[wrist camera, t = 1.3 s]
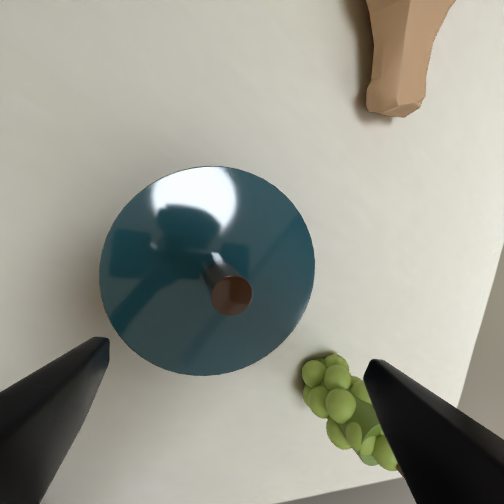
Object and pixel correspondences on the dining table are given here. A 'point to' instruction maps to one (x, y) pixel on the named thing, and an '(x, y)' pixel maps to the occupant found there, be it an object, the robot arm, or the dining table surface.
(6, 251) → the dining table surface
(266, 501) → the dining table surface
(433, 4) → the squash
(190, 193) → the lid
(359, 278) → the dining table surface
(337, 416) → the grapes
